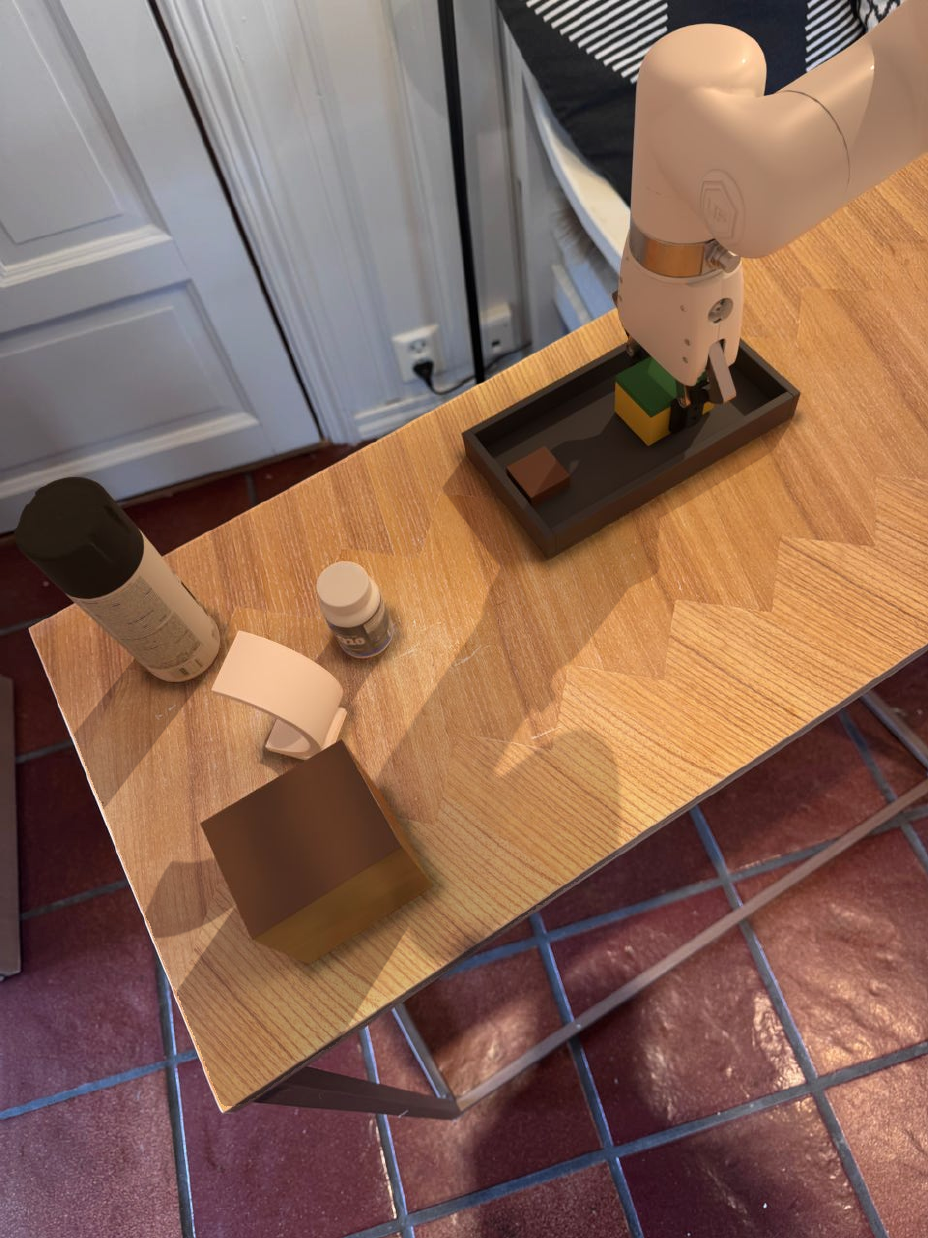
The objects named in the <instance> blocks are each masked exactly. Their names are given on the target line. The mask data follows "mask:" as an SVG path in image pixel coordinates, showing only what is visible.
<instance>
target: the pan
mask: <svg viewBox="0 0 928 1238" xmlns="http://www.w3.org/2000/svg"><path fill="white" fill-rule="evenodd" d="M626 343H627V341H626V342H624V343H621V344H620V345H618V346H617V347H614V348H612V349H611V350H609V351H607V352H606V353H604V354H602V355H600V356H598V357H596V358H594V359H593V360H591V361H589V362H587V363H586V364H584V365H582V366H580V367H578V368H576V369H574V370H572V371H571V372H569V373H568V374H566V375H564V376H562V377H560V378H558V379H557V380H555V381H553V382H551V383H549V384H547V385H546V386H544V387H543V388H540V389H539V390H536V391H535V392H533V393H531V394H529V395H527V396H526V397H524V398H522V399H520V400H518V401H517V402H515V403H513V404H511V405H509V406H508V407H506V408H504V409H502V410H500V411H498V412H497V413H494V414H493V415H491V416H490V417H488V418H486V419H484V420H483V421H481V422H478V423H476V424H475V425H473V426H471V427H470V428H468V429H466V430H464V431H461V437H462V442H463V448H464V453H465V455H466V457H467V458H468V460H469V461H470V462H471V464H472V465H473V466H474V467H475V469H476V470H477V471H478V473H480V475H481V476H482V477H483V479H484V480H485V481H486V483H487V484H488V485H489V486H490V488H491V489H492V491H494V493H495V494H496V495H497V497H498V498H499V499H500V501H502V503H503V504H504V505H505V507H506V508H507V509H508V511H509V512H510V513H511V514H512V516H513V517H514V518H515V520H516V521H517V523H519V525H520V526H521V527H522V528H523V530H524V531H525V532H526V533H527V535H528V536H529V537H530V539H531V540H532V542H534V544H535V545H536V546H537V548H538V549H539V550H540V551H541V553H542V554H543V555H544V557H545V558H546V559H547V560H551V559H553V558H555V557H556V556H558V555H560V554H562V553H563V552H565V551H567V550H568V549H570V548H572V547H574V546H575V545H577V544H578V543H580V542H582V541H583V540H585V539H587V538H588V537H590V536H592V535H594V534H596V533H597V532H599V531H602V530H603V529H604V528H606V527H608V526H609V525H611V524H612V523H614V522H616V521H618V520H620V519H621V518H623V517H625V516H627V515H628V514H630V513H632V512H633V511H635V510H637V509H638V508H640V507H642V506H644V505H645V504H647V503H648V502H650V501H652V500H654V499H655V498H657V497H659V496H660V495H663V494H664V493H666V492H667V491H669V490H671V489H672V488H674V487H676V486H678V485H680V484H681V483H683V482H684V481H686V480H688V479H689V478H691V477H694V475H696V474H698V473H700V472H701V471H703V470H705V469H707V468H708V467H710V466H712V465H713V464H715V463H717V462H718V461H720V460H722V459H723V458H725V457H727V456H729V455H730V454H732V453H734V452H736V451H737V450H739V449H741V448H743V447H744V446H746V445H748V444H750V443H751V442H753V441H755V440H756V439H758V438H760V437H761V436H763V435H765V434H767V433H768V432H769V431H771V430H773V429H775V428H777V427H779V425H780V426H781V425H782V424H783V423H785V422H788V421H789V420H790V419H792V418H794V417H795V414H796V409H797V407H798V404H799V400H800V397H801V394H802V392H801V391H800V390H799V389H798V388H796V386H794V385H793V384H792V383H791V382H790V381H789V380H788V379H787V378H786V377H785V376H783V375H782V374H781V373H780V372H779V371H778V370H777V369H776V368H775V367H774V366H773V365H772V364H770V363H769V362H768V361H767V360H766V359H764V358H763V357H762V356H761V354H759V353H758V352H757V351H756V350H755V349H753V348H752V347H751V346H750V345H749V344H748V343H747V342H746V341H745V340H743V339H742V338H741V337H740V340H739V346H738V352H737V356H736V359H735V362H734V363H733V364H731V365H730V366H728V369H729V372H730V375H731V378H732V381H733V384H734V387H735V390H736V397H734V398H733V399H731V400H729V401H727V402H726V403H724V404H714V406H713V409H711V410H710V411H708V412H706V413H704V414H703V415H702V417H701V419H700V421H699V422H698V423H697V424H696V425H694V426H693V427H691V428H688V429H687V428H685V429H683V430H681V431H680V432H678V433H676V434H674V435H672V434H671V433H670V434H668V435H667V436H665V437H663V438H661V439H660V440H658V441H656V442H655V443H653V444H651V445H649V446H647V445H646V443H645V442H644V441H643V440H642V439H641V438H640V437H639V436H638V435H637V434H636V433H635V432H634V431H633V430H632V429H631V428H630V427H629V426H628V424H627V423H626V422H625V421H624V420H623V419H622V418H621V417H620V416H619V415H618V414H617V413H616V412H615V384H616V375H618V374H620V373H621V372H623V371H625V370H627V369H629V366H630V359H631V358H632V356H630V355H629V354H628V352H627V350H626ZM543 446H545V447H546V448H547V449H548V450H549V452H550V453H551V454H552V455H553V456H554V457H555V459H556V460H557V461H558V462H559V463H560V464H561V466H562V467H563V468H564V469H565V470H566V472H567V473H568V474H569V475H570V486H569V487H568V488H566V489H564V490H563V491H561V492H559V493H557V494H556V495H554V496H552V497H550V498H549V499H547V500H545V501H543V502H542V503H540V504H538V505H536V506H535V507H533V508H532V506H531V505H530V504H529V503H528V501H527V500H526V499H525V498H524V496H523V495H522V494H521V493H520V491H519V490H518V489H517V488H516V486H515V485H514V484H513V483H512V481H511V480H510V479H509V478H508V477H507V472H506V467H508V466H509V465H511V464H513V463H515V462H516V461H518V460H520V459H522V458H524V457H525V456H527V455H529V454H531V453H532V452H534V451H536V450H538V449H540V448H541V447H543Z"/></svg>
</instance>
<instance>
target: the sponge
mask: <svg viewBox="0 0 928 1238" xmlns="http://www.w3.org/2000/svg"><path fill="white" fill-rule="evenodd" d="M696 383H699V381H698V378H697V382H696ZM676 397H677V392H676V383H675V378H674V377H673V376H672V375H671V374H670V373H669V372H668V371H666V370H665V369H664V368H663V367H662V366H661V365H660V364H659V363H658V362H657V361H656V360H655V359H654V358H653V357H652V356H650V357H648V358H647V359H645V360H643V361H641V362H640V363H637V364H636V365H634V366H632V367H630V368H629V369H627V370H625V371H623V372H621V373H620V374H618V375H616V384H615V412H616V413H617V414H618V415H619V416H620V417H621V418H622V419H623V420H624V421H625V422H626V423H627V424H628V426H629V427H630V428H631V429H632V430H633V431H634V432H635V433H636V434H637V435H638V436H639V437H640V438H641V439H642V440H643V441H644V442H645V443H646V445H647V446H649V445H651V444H653V443H655V442H656V441H658V440H660V439H661V438H663V437H665V436H667V435H668V434H670V431H669V430H668V429H669V419H670V411H671V403H672V401H673V399H674V398H676ZM713 406H714V404H713V403H711V402H707V403H705V404H704V408H703V414H704V413H706V412H708V411H710V410H711V409H713ZM703 414H702V415H703Z"/></svg>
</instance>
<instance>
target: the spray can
mask: <svg viewBox="0 0 928 1238" xmlns="http://www.w3.org/2000/svg"><path fill="white" fill-rule="evenodd" d="M13 538H14V542H15V545H16V547H17V548H18V549H19V551H20V552H21V553H22V554H23V555H24V556H25V557H26V558H27V559H28V560H29V561H30V562H31V563H32V564H33V565H34V566H36V568H38V569H39V570H40V572H42V573H43V574H44V575H45V576H46V577H47V579H49V580H50V581H51V582H52V583H53V584H54V585H55V587H57V588H58V589H59V590H60V591H61V592H62V593H64V594H65V596H66V597H68V598H69V599H70V600H71V601H72V602H73V603H74V604H75V605H77V606H78V608H80V609H81V610H82V611H83V612H84V613H85V614H86V615H88V617H89V618H91V620H93V621H94V622H95V623H96V624H97V625H98V627H100V628H101V629H102V630H104V632H106V633H107V634H108V635H109V636H110V637H111V638H112V639H113V640H114V641H116V643H118V644H119V645H120V646H121V647H122V648H124V650H125V651H126V652H128V653H129V654H130V655H131V656H132V657H133V658H134V659H135V660H136V661H137V662H138V663H139V664H140V665H141V666H143V667H144V669H146V670H147V671H148V672H149V673H151V674H152V675H153V676H154V677H156V678H158V679H160V680H162V681H166V682H172V683H173V682H175V683H176V682H177V683H183V682H187V681H190V680H192V679H196V678H198V677H200V676H201V675H202V674H203V673H204V672H205V671H207V670H208V669H209V668H210V667H211V666H212V664H213V663H214V661H215V660H216V658H217V656H218V655H219V652H220V646H221V637H220V630H219V627H218V625H217V623H216V621H215V620H214V618H212V616H211V615H210V614H209V612H208V611H207V610H206V609H205V608H204V606H203V605H202V603H201V601H199V600H198V599H197V598H196V597H195V596H194V594H193V593H192V592H191V591H190V589H189V588H188V587H187V586H186V585H185V583H184V582H183V581H182V580H181V578H180V577H179V576H178V574H177V573H175V571H174V570H173V569H172V568H171V566H170V565H169V563H168V562H167V561H166V560H165V559H164V557H163V556H162V555H161V554H160V552H158V550H157V549H156V547H155V546H154V545H153V544H152V542H150V540H149V539H148V538H147V537H146V535H145V534H144V532H143V531H142V530H141V529H140V528H139V526H137V524H136V523H135V522H134V521H133V520H132V519H131V518H130V517H129V515H128V514H127V513H126V512H125V511H124V510H123V508H122V507H121V506H120V505H119V504H118V503H117V502H116V500H115V499H114V498H113V497H112V495H110V493H109V492H108V491H107V489H106V488H105V487H104V486H103V485H102V484H100V483H99V482H97V481H95V480H92V479H90V478H87V477H83V476H68V477H67V476H66V477H62V478H59V479H55V480H53V481H50V482H48V483H47V484H45V485H43V486H41V487H39V488H38V489H37V490H36V491H35V492H34V496H33V497H32V498H31V500H30V501H29V503H27V504H25V506H24V508H23V510H22V512H21V514H20V516H19V521H18V524H17V527H16V528H15V529H14V532H13Z"/></svg>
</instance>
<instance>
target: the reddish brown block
mask: <svg viewBox="0 0 928 1238" xmlns="http://www.w3.org/2000/svg"><path fill="white" fill-rule="evenodd" d="M506 472H507V477H508V478H509V479H510V480H511V481H512V483H513V484H514V485H515V486H516V488H517V489H518V490H519V491H520V493H521V494H522V495H523V496H524V498H525V499H526V500H527V501H528V503H529V504H530V505H531V506H532V508H533V507H535V506H536V505H538V504H540V503H542V502H543V501H545V500H547V499H549V498H550V497H552V496H554V495H556V494H557V493H559V492H561V491H563V490H564V489H566V488H568V487H569V486H570V475H569V474H568V473H567V472H566V470H565V469H564V468H563V467H562V466H561V464H560V463H559V462H558V461H557V460H556V459H555V457H554V456H553V455H552V454H551V453H550V452H549V450H548V449H547V448H546V447H545V446H543V447H541V448H540V449H538V450H536V451H534V452H532V453H531V454H529V455H527V456H525V457H524V458H522V459H520V460H518V461H516V462H515V463H513V464H511V465H509V466H508V467H506Z"/></svg>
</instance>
